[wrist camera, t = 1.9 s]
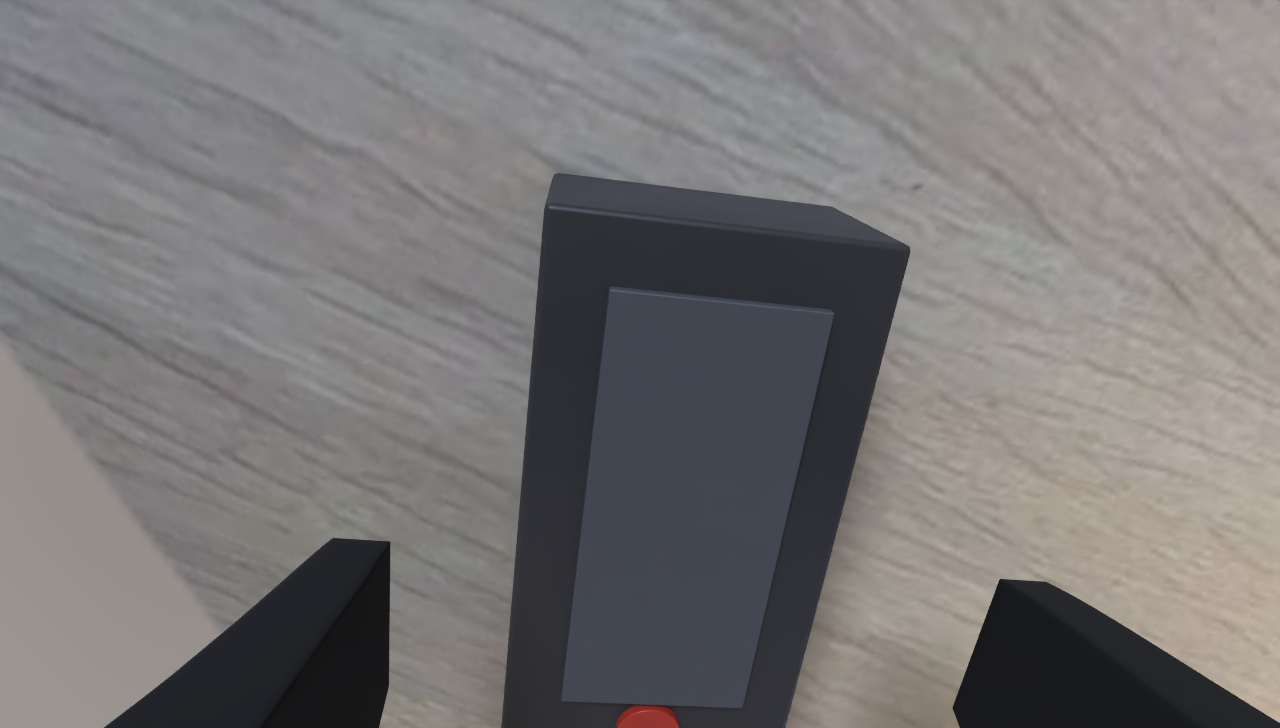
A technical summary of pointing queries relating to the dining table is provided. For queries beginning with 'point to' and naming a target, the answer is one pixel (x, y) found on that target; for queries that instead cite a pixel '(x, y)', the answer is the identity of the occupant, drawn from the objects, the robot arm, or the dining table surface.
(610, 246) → the remote
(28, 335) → the dining table surface
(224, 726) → the robot arm
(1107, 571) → the dining table surface
